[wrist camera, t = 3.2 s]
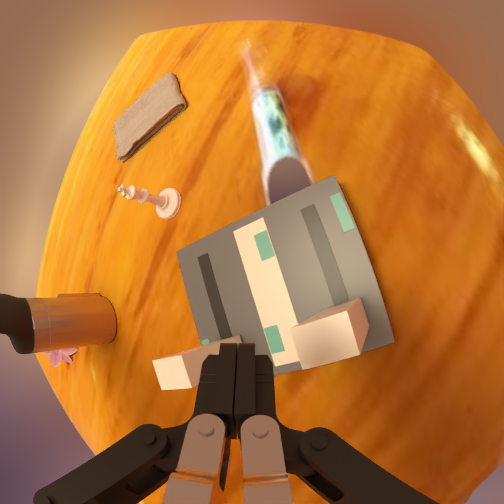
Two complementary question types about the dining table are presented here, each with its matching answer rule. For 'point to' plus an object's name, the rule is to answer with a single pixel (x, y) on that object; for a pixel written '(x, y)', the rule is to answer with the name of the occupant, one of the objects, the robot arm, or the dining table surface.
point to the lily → (60, 356)
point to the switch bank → (283, 274)
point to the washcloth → (148, 116)
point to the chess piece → (155, 199)
